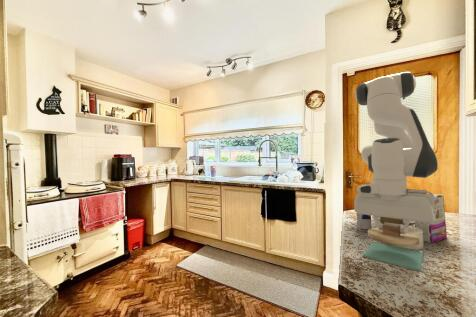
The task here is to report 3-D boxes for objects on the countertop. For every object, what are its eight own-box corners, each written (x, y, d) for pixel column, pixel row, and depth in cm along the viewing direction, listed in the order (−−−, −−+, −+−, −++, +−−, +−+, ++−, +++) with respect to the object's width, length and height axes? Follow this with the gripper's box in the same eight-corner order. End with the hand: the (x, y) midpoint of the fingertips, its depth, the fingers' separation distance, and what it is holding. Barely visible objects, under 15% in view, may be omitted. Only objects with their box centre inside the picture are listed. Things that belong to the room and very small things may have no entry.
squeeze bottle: (402, 236, 80) (399, 190, 81) (377, 231, 86) (375, 189, 87) (406, 231, 86) (403, 188, 86) (383, 227, 92) (381, 187, 92)
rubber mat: (373, 243, 74) (373, 241, 74) (423, 254, 65) (423, 252, 65) (363, 256, 65) (362, 254, 65) (420, 271, 55) (420, 269, 55)
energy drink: (374, 232, 86) (372, 203, 86) (360, 232, 87) (358, 203, 87) (368, 228, 91) (367, 201, 91) (355, 228, 92) (354, 201, 92)
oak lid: (373, 228, 74) (372, 217, 74) (420, 237, 65) (420, 223, 65) (363, 238, 65) (362, 225, 65) (417, 250, 56) (416, 234, 56)
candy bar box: (430, 234, 81) (428, 193, 82) (447, 238, 77) (444, 194, 77) (414, 239, 77) (412, 195, 77) (431, 244, 72) (428, 197, 73)
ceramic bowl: (387, 236, 81) (386, 222, 81) (424, 243, 73) (423, 227, 73) (381, 244, 73) (380, 229, 73) (422, 253, 66) (421, 236, 66)
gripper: (434, 189, 60) (437, 236, 60) (357, 185, 75) (359, 223, 74) (433, 191, 56) (436, 242, 55) (351, 187, 70) (353, 227, 70)
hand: (391, 231), depth 65 cm, fingers closed on oak lid, 4 cm apart
